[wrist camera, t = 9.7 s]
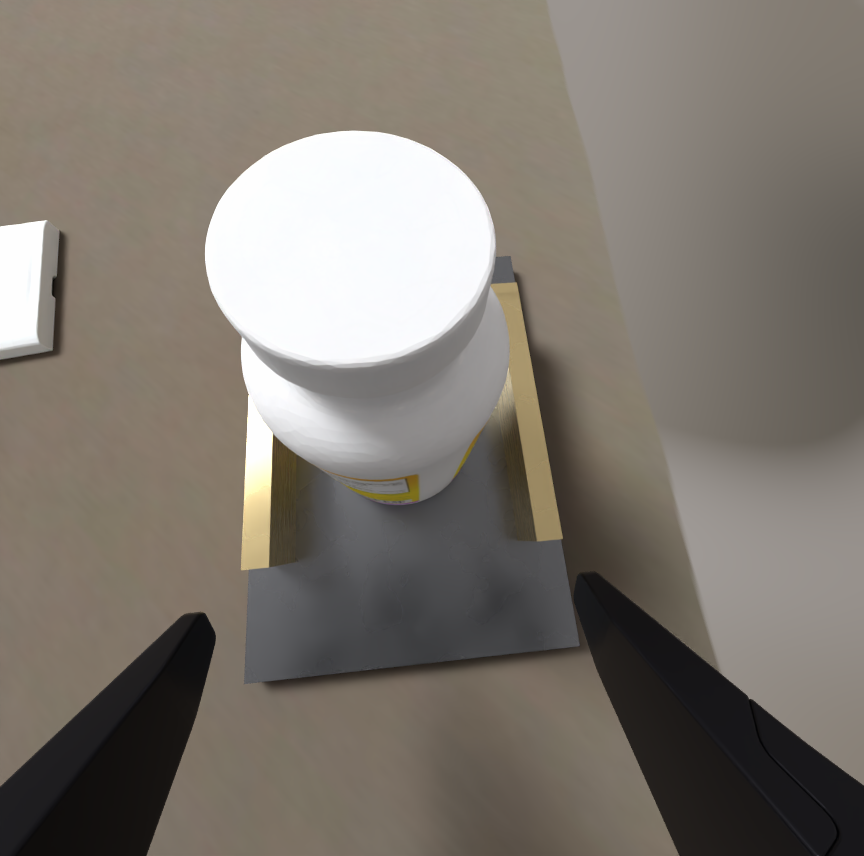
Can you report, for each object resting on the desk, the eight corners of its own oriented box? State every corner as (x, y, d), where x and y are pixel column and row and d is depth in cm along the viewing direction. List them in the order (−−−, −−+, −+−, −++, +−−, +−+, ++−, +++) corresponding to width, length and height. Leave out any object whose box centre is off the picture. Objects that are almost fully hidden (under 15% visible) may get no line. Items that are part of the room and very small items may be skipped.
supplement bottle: (428, 354, 20) (441, 44, 7) (492, 465, 18) (648, 312, 6) (308, 410, 19) (86, 159, 6) (365, 533, 17) (222, 524, 5)
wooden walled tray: (571, 639, 17) (615, 670, 13) (254, 675, 16) (203, 718, 12) (506, 268, 22) (524, 212, 19) (268, 281, 22) (235, 227, 18)
